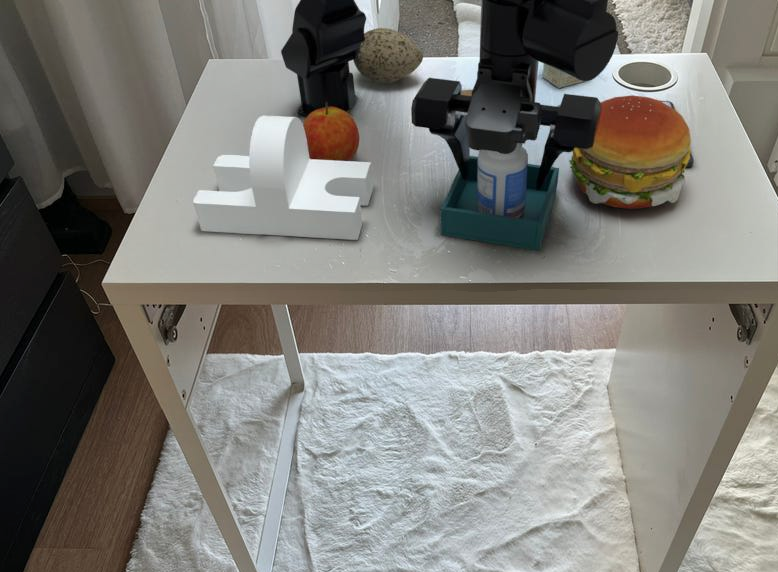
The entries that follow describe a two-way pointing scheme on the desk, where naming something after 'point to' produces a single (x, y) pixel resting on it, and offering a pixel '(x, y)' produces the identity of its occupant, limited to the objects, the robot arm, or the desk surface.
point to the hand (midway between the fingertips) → (501, 183)
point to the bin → (498, 229)
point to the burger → (634, 154)
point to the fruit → (331, 134)
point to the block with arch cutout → (285, 188)
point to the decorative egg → (387, 56)
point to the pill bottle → (502, 182)
